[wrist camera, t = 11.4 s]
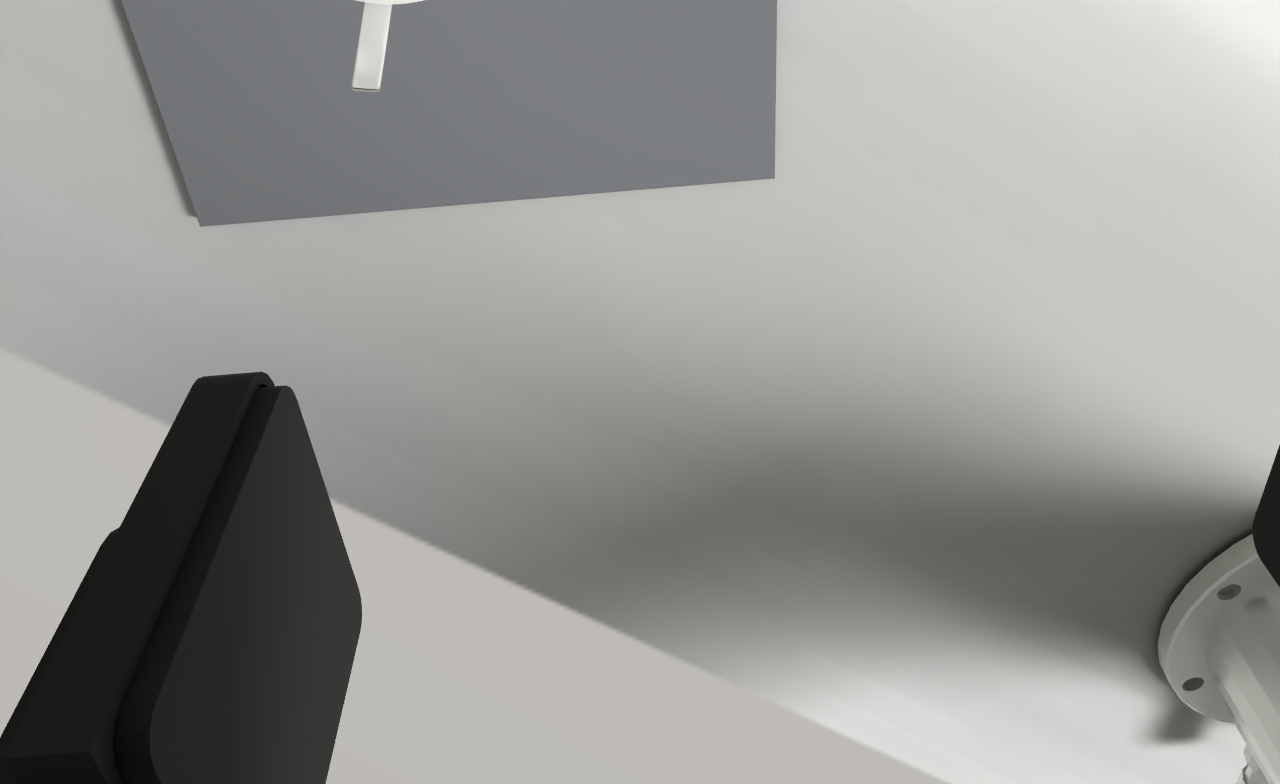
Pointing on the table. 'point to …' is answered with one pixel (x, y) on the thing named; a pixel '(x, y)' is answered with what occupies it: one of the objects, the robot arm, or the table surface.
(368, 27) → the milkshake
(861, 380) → the table surface
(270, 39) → the mouse pad
